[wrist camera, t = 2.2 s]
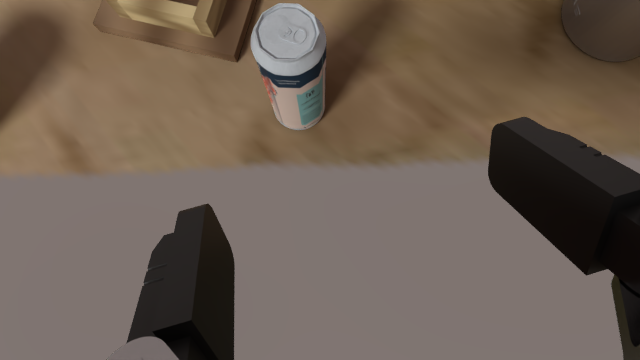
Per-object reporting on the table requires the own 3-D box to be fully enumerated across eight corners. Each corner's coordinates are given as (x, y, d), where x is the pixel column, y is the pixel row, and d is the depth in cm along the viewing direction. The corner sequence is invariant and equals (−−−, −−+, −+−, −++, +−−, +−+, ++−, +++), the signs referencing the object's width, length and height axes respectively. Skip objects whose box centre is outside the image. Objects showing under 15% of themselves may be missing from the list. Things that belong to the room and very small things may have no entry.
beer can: (285, 77, 34) (265, -14, 22) (332, 93, 33) (337, 9, 22) (266, 122, 33) (235, 53, 21) (314, 139, 33) (309, 78, 21)
